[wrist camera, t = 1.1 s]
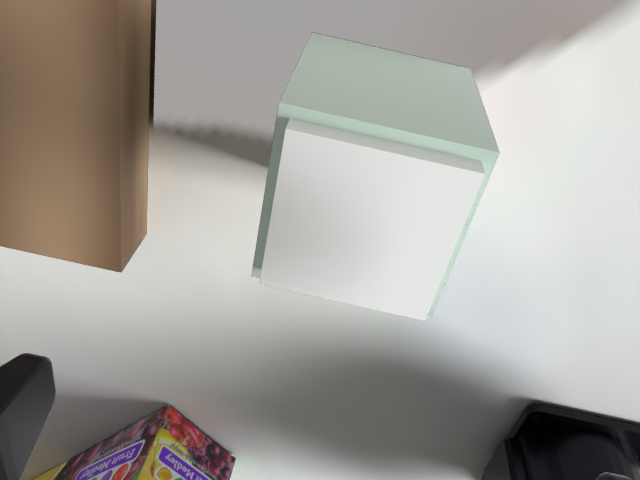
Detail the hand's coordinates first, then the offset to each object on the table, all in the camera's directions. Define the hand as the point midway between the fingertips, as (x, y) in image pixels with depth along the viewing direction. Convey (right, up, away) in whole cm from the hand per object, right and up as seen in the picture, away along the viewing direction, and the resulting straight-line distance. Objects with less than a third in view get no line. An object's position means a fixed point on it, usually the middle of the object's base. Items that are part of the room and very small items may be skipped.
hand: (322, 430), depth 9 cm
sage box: (+2, +7, +10) cm, 12 cm away
